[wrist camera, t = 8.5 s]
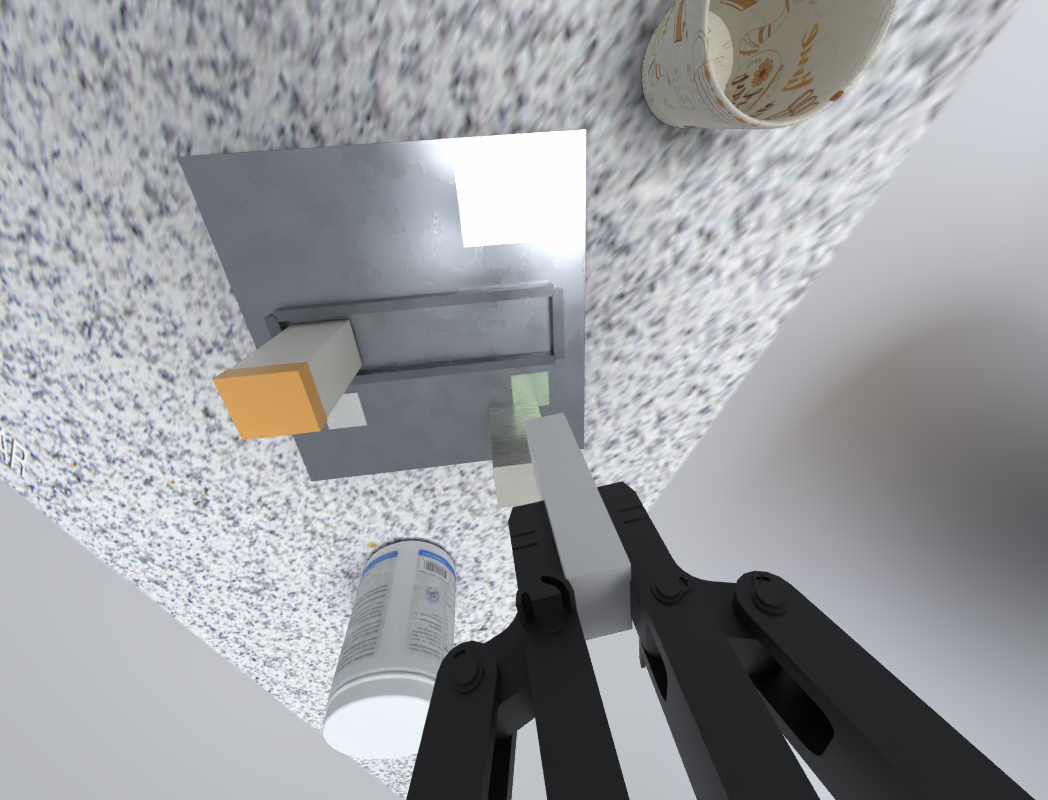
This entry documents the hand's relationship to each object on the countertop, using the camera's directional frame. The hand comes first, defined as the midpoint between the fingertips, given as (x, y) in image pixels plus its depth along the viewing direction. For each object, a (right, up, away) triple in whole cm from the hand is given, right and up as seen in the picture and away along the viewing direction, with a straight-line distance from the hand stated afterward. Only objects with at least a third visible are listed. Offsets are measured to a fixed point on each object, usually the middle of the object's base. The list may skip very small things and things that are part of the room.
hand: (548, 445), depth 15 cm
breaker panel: (-8, +7, +15) cm, 19 cm away
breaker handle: (-15, +6, +14) cm, 21 cm away
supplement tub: (-13, -16, +28) cm, 35 cm away
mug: (+9, +24, +9) cm, 27 cm away
